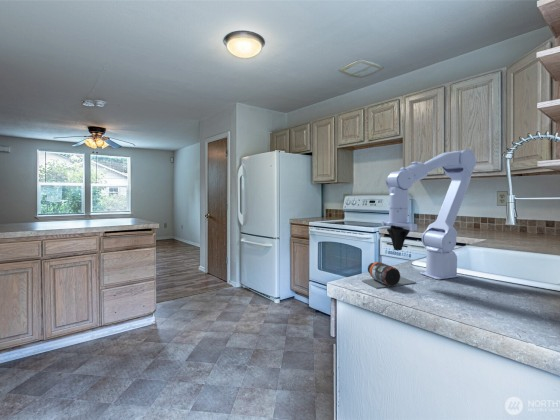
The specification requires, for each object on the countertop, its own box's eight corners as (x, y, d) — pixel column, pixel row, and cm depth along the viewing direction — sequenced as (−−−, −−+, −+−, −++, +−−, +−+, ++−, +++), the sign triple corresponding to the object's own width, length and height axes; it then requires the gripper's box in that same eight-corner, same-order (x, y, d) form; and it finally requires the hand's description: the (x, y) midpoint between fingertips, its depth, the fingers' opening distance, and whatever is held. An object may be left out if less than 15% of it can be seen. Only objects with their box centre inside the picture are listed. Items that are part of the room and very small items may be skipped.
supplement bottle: (403, 281, 97) (382, 271, 108) (397, 264, 96) (376, 256, 107) (388, 290, 96) (368, 279, 107) (381, 273, 95) (362, 264, 106)
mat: (398, 276, 108) (398, 275, 108) (415, 283, 100) (416, 282, 100) (361, 281, 103) (361, 280, 103) (376, 288, 96) (376, 287, 96)
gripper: (374, 207, 107) (373, 246, 108) (404, 210, 93) (403, 255, 94) (391, 206, 109) (390, 245, 110) (423, 209, 95) (422, 253, 96)
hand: (397, 249), depth 102 cm, fingers closed
